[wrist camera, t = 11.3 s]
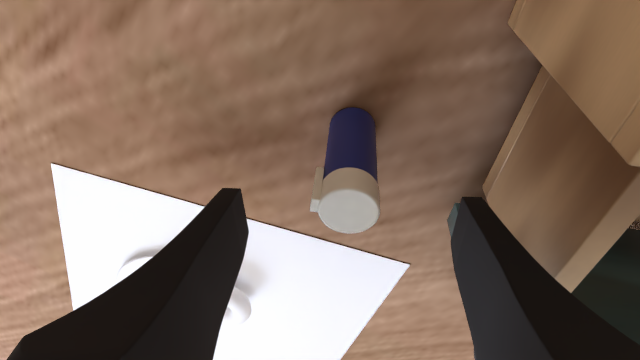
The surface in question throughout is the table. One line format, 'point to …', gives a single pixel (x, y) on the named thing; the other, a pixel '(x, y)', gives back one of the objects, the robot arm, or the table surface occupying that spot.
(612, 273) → the drawer
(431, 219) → the table surface
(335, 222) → the pen
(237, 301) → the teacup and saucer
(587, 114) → the cabinet
